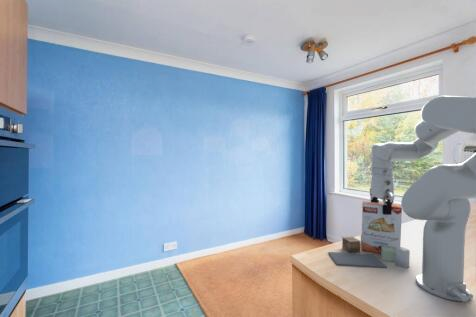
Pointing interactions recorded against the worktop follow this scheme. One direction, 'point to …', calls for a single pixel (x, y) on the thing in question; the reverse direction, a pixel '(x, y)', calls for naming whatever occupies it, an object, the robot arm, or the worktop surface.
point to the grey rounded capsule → (402, 257)
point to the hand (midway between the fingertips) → (380, 211)
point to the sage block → (388, 253)
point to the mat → (356, 259)
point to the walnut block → (351, 244)
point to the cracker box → (380, 227)
